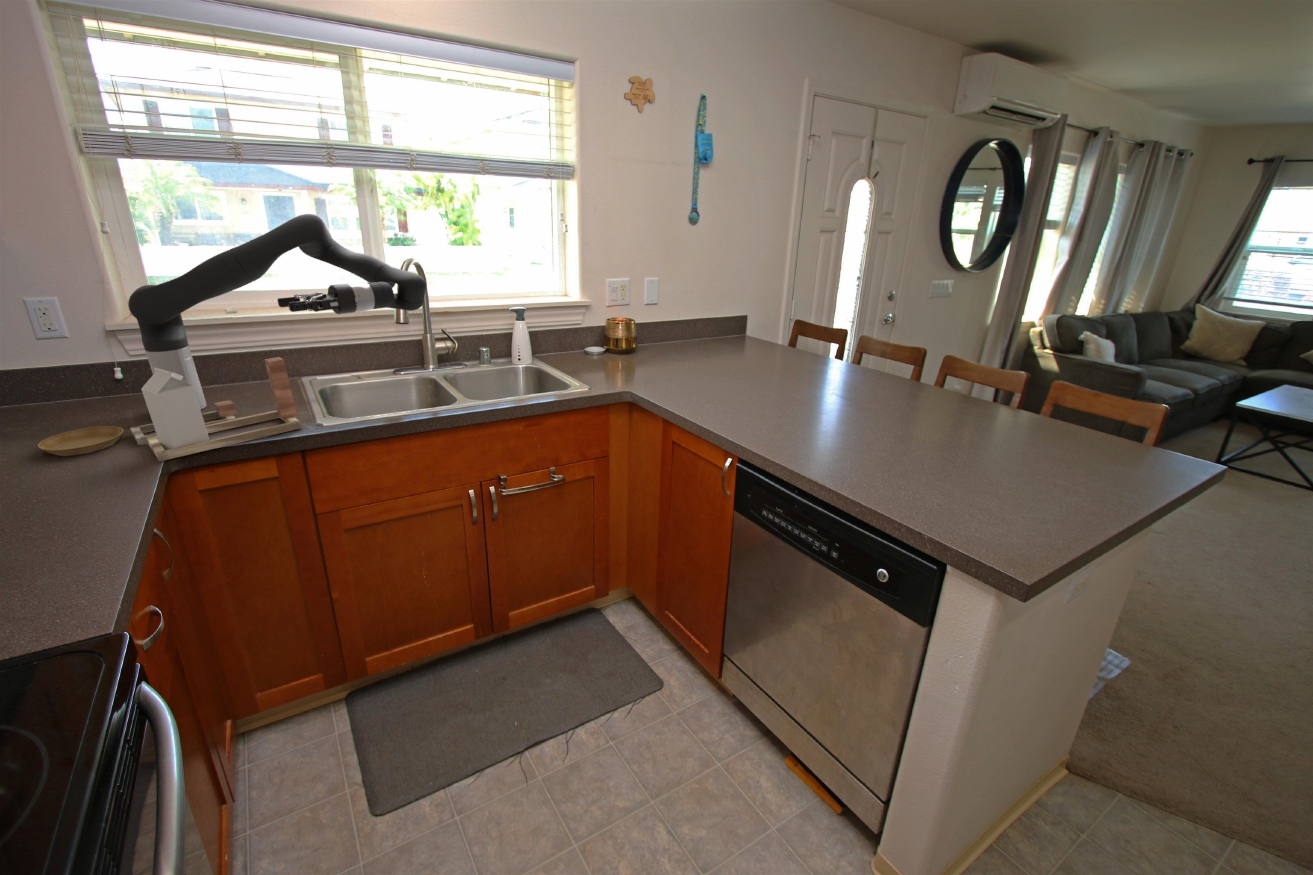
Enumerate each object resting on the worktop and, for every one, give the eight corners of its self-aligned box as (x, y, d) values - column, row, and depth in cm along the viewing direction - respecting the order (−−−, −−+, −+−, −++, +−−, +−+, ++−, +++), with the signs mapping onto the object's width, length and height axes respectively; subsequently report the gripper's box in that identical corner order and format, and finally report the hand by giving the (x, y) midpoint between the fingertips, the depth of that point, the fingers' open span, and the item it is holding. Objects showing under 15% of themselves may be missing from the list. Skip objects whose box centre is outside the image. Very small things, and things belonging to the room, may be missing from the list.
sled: (148, 444, 138) (125, 376, 131) (288, 414, 158) (273, 353, 151) (159, 461, 129) (134, 388, 123) (305, 427, 149) (290, 363, 143)
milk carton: (177, 456, 132) (150, 376, 125) (161, 450, 136) (134, 371, 128) (211, 446, 138) (188, 368, 131) (196, 440, 141) (172, 364, 134)
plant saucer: (119, 431, 147) (115, 421, 146) (133, 446, 138) (130, 435, 137) (37, 448, 136) (33, 438, 135) (47, 466, 128) (43, 455, 127)
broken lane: (132, 434, 144) (125, 416, 142) (231, 414, 158) (226, 397, 156) (139, 445, 138) (132, 426, 136) (241, 423, 152) (236, 406, 150)
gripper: (338, 281, 158) (271, 286, 147) (360, 286, 149) (289, 292, 138) (344, 308, 161) (278, 316, 150) (365, 315, 152) (296, 324, 141)
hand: (283, 305), depth 144 cm, fingers open, 8 cm apart
